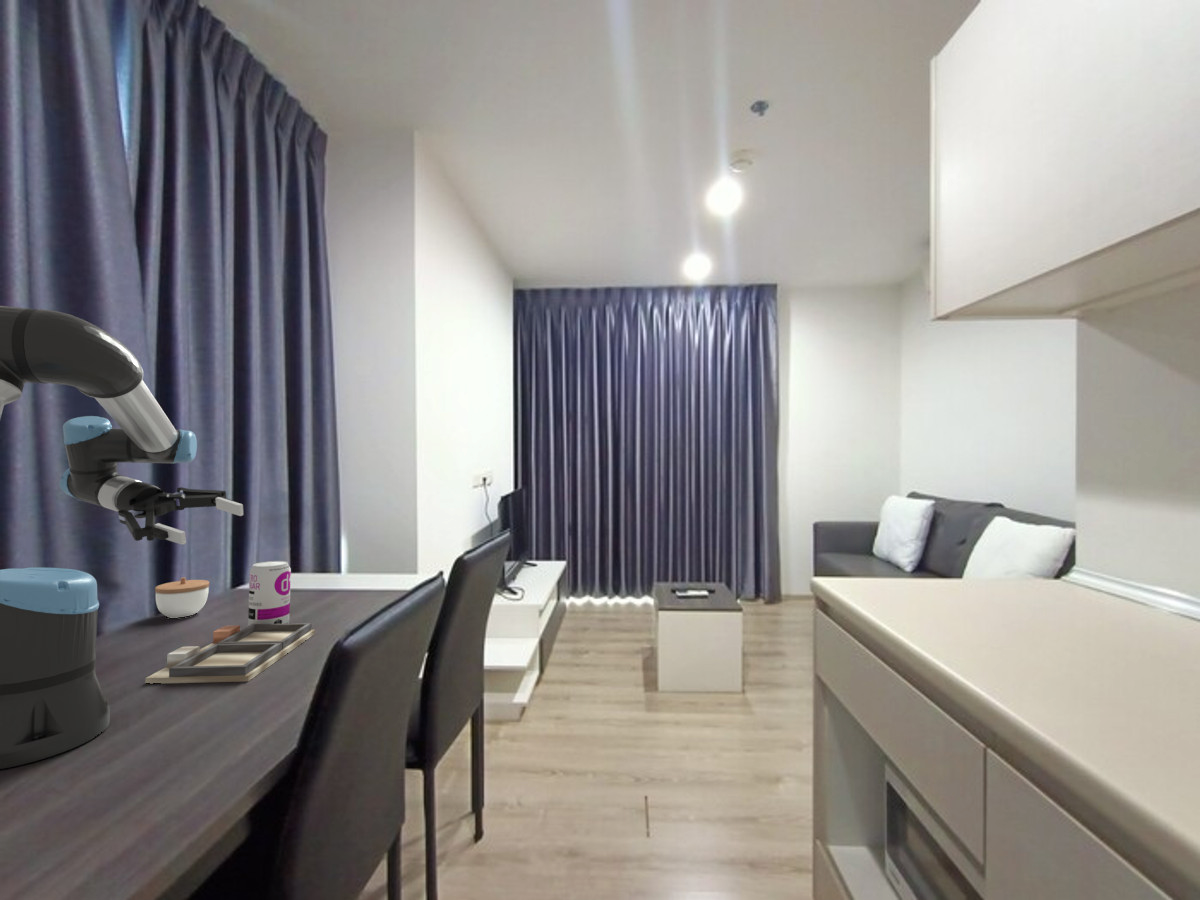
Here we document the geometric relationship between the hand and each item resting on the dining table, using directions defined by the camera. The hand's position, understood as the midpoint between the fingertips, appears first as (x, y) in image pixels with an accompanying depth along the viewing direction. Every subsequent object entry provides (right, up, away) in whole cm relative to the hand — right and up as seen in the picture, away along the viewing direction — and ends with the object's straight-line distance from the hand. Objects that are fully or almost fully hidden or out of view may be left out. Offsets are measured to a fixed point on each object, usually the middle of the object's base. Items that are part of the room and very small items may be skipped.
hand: (214, 523), depth 112 cm
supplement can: (+5, -26, +11) cm, 29 cm away
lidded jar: (-23, -26, +20) cm, 40 cm away
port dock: (+11, -25, -7) cm, 28 cm away
